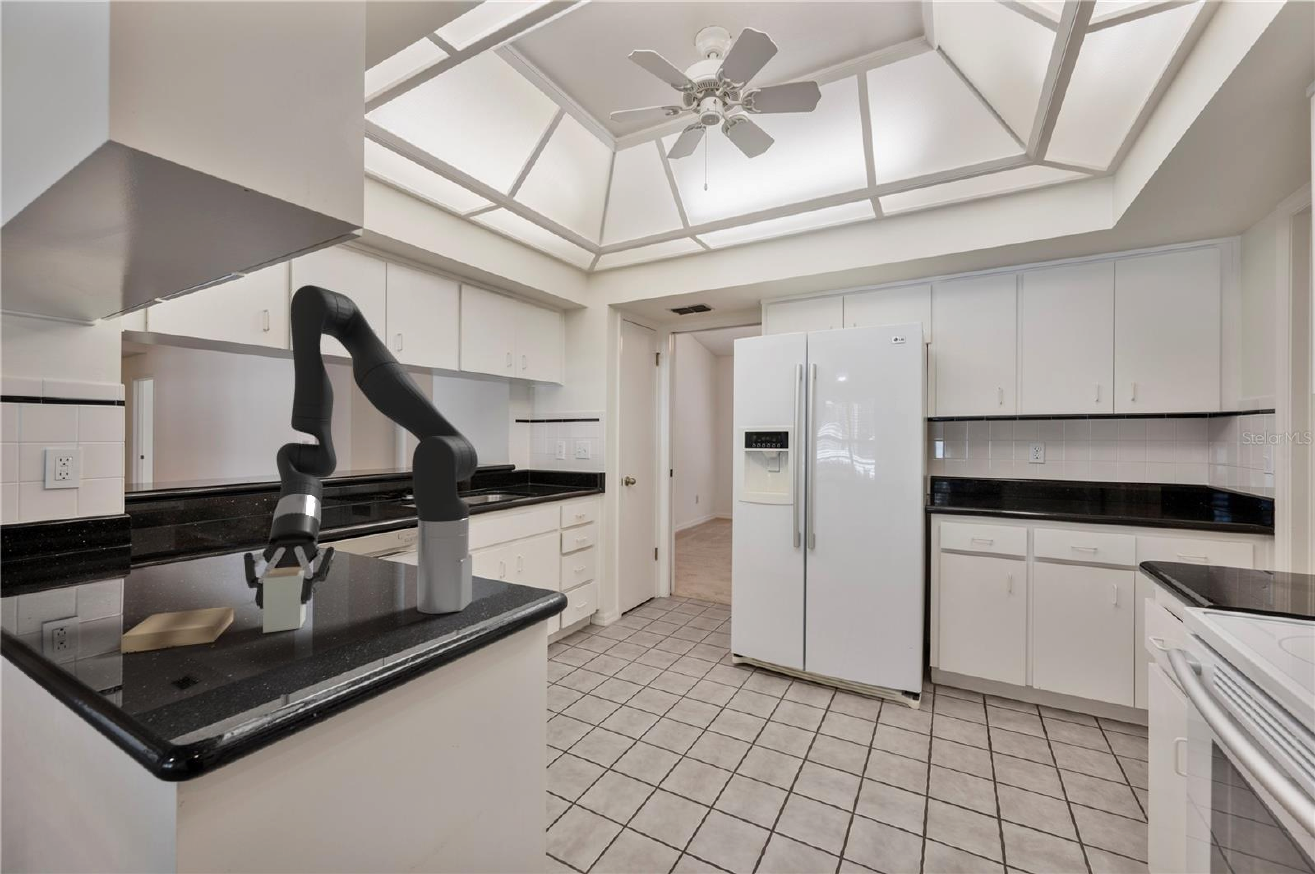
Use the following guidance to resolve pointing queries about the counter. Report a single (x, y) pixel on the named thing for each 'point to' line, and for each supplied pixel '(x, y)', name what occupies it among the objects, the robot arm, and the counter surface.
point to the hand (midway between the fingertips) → (283, 603)
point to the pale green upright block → (283, 599)
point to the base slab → (177, 629)
